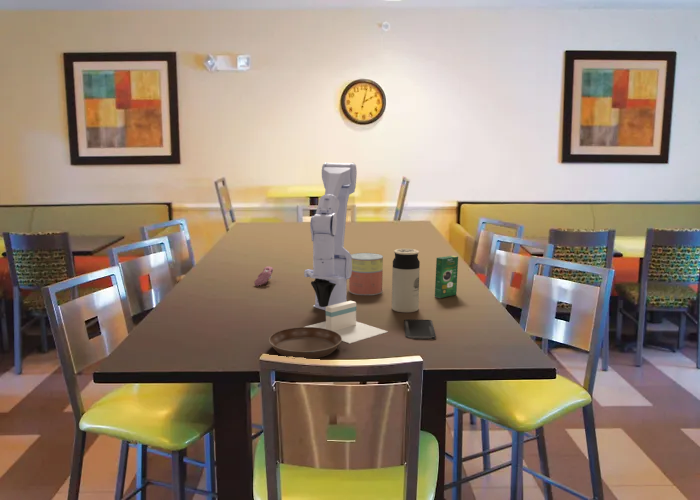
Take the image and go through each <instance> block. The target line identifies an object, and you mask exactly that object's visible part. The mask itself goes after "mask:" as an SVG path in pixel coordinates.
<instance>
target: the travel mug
mask: <svg viewBox="0 0 700 500" xmlns="http://www.w3.org/2000/svg"><path fill="white" fill-rule="evenodd" d="M393 253H394V258H393V260H392V276H391V277H392V282H391V283H392V284H391V289H392V290H391V309H392V310H393V311H394V312H398V313H407V314H409V313H414V312H415V313H416V312H417V311H418V310H419V303H420V301H419V300H420V270H421V269H420V265H421V264H420V263H421V262H420V259H419V258H418V256H419V253H420V250H417V249H414V248H396V249H395V250H393Z"/></svg>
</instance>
